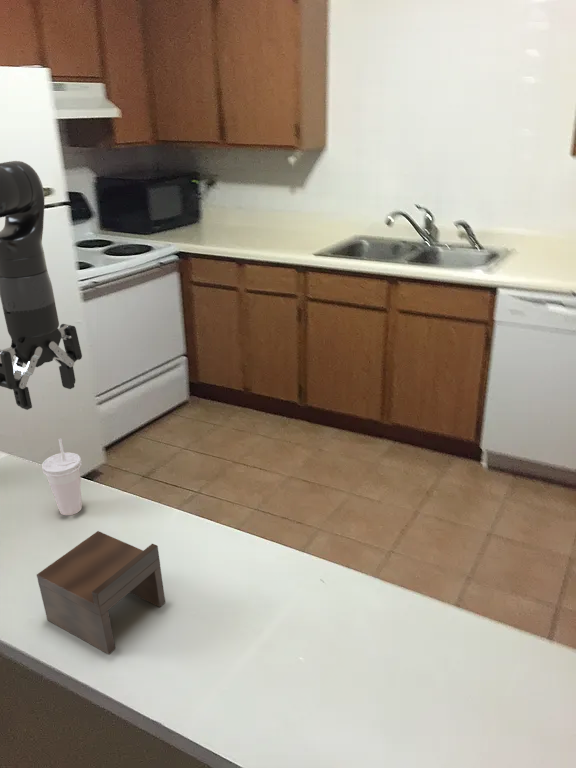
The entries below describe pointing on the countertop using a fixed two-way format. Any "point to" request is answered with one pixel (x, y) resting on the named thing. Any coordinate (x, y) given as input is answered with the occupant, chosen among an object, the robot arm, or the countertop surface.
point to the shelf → (98, 586)
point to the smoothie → (64, 480)
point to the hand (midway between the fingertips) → (48, 397)
